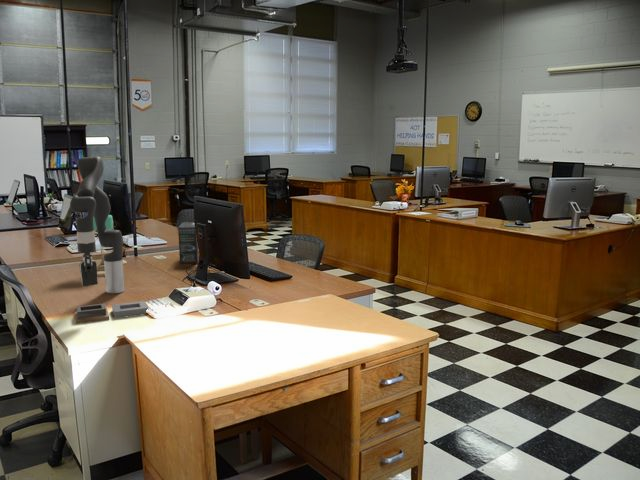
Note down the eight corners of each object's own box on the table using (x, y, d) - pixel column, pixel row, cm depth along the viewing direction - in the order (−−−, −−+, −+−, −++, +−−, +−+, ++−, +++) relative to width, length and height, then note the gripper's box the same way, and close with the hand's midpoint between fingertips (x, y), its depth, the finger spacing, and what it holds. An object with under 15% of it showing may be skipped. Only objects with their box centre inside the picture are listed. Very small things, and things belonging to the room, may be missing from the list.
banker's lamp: (117, 268, 354) (113, 212, 348) (116, 275, 335) (112, 217, 329) (90, 269, 350) (85, 213, 343) (87, 278, 330) (83, 218, 324)
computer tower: (183, 256, 388) (181, 219, 383) (201, 256, 390) (199, 218, 385) (179, 263, 366) (177, 224, 361) (197, 263, 368) (196, 224, 363)
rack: (74, 314, 264) (74, 305, 263) (106, 310, 269) (106, 301, 268) (75, 323, 251) (75, 314, 250) (109, 319, 257) (108, 310, 256)
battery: (96, 282, 261) (94, 258, 259) (98, 284, 258) (96, 260, 256) (80, 284, 257) (78, 260, 255) (82, 286, 254) (80, 262, 252)
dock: (112, 310, 269) (112, 304, 269) (145, 306, 276) (144, 300, 275) (114, 318, 259) (114, 311, 258) (148, 313, 265) (148, 307, 264)
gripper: (76, 238, 258) (79, 275, 262) (77, 244, 246) (80, 282, 249) (94, 237, 262) (96, 273, 265) (96, 243, 249) (98, 280, 252)
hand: (89, 277), depth 257 cm, fingers closed on battery, 4 cm apart
